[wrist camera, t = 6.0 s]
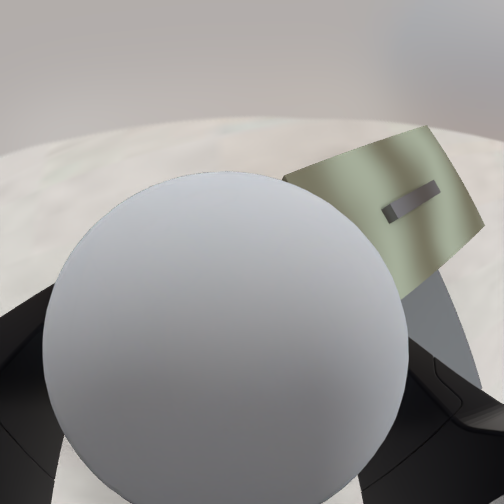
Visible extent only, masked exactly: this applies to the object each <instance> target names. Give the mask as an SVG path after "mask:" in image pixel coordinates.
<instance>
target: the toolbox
mask: <svg viewBox="0 0 504 504" xmlns="http://www.w3.org/2000/svg"><path fill="white" fill-rule="evenodd" d="M282 181H285V182H288V183H290V184H293V185H296V186H298V187H300V188H302V189H305V190H307V191H309V192H311V193H312V194H314V195H316V196H318V197H320V198H321V199H323V200H325V201H326V202H328V203H330V204H331V205H332V206H333V207H335V208H336V209H337V210H338V211H340V212H341V213H342V214H343V215H344V216H346V217H347V218H348V219H349V220H350V221H352V222H353V223H354V224H355V225H356V226H357V227H358V228H359V229H360V230H361V232H362V233H363V234H364V235H365V236H366V237H367V239H368V240H369V241H370V242H371V243H372V244H373V246H374V247H375V248H376V250H377V251H378V252H379V254H380V256H381V257H382V259H383V261H384V263H385V264H386V266H387V268H388V270H389V272H390V274H391V275H392V277H393V280H394V282H395V285H396V288H397V290H398V293H399V296H400V300H401V299H403V298H404V297H405V296H406V295H408V294H409V293H410V292H411V291H413V290H414V289H415V288H416V287H418V286H419V285H420V284H421V283H422V282H424V281H425V280H426V279H427V278H428V277H430V276H431V275H432V274H433V273H434V272H435V271H437V270H438V269H439V268H440V267H441V266H442V265H443V264H445V263H446V262H447V261H448V260H449V259H450V258H451V257H452V256H453V255H455V254H456V253H457V252H458V251H459V250H460V249H461V248H462V247H463V246H464V245H465V244H466V243H467V242H469V241H470V240H471V239H472V238H473V237H474V236H475V235H476V234H477V233H478V232H479V231H480V230H481V229H482V228H483V227H484V226H485V225H484V223H483V221H482V218H481V216H480V214H479V212H478V210H477V208H476V206H475V204H474V202H473V201H472V199H471V197H470V195H469V193H468V191H467V189H466V187H465V186H464V184H463V182H462V180H461V179H460V177H459V175H458V173H457V172H456V170H455V168H454V167H453V165H452V163H451V162H450V160H449V158H448V157H447V155H446V153H445V152H444V150H443V149H442V147H441V146H440V144H439V143H438V141H437V140H436V138H435V137H434V135H433V134H432V132H431V131H430V129H429V128H428V126H427V125H426V126H423V127H419V128H416V129H413V130H410V131H407V132H404V133H401V134H398V135H395V136H392V137H389V138H386V139H383V140H380V141H377V142H374V143H371V144H368V145H365V146H362V147H359V148H357V149H354V150H351V151H348V152H345V153H343V154H340V155H337V156H334V157H332V158H329V159H326V160H323V161H321V162H318V163H315V164H313V165H310V166H308V167H305V168H302V169H300V170H297V171H295V172H292V173H289V174H287V175H284V177H283V179H282Z"/></svg>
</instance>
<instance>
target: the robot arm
mask: <svg viewBox="0 0 504 504" xmlns="http://www.w3.org/2000/svg"><path fill="white" fill-rule="evenodd" d="M54 285H55V283H54V284H52V285H51V286H49V287H47V288H46V289H44V290H43V291H41V292H39V293H38V294H36V295H35V296H33V297H31V298H30V299H28V300H27V301H25V302H23V303H22V304H20V305H19V306H17V307H16V308H14V309H12V310H11V311H9V312H8V313H6V314H5V315H3V316H2V317H0V504H51V500H52V494H53V488H54V482H55V481H54V479H55V476H56V470H57V465H58V460H59V456H60V451H61V446H62V442H63V438H64V433H63V431H62V429H61V427H60V425H59V423H58V420H57V418H56V415H55V413H54V410H53V408H52V405H51V402H50V398H49V394H48V390H47V386H46V381H45V377H44V367H43V330H44V323H45V317H46V311H47V307H48V304H49V300H50V297H51V294H52V291H53V288H54ZM408 353H409V361H408V370H407V377H406V384H405V390H404V393H403V397H402V400H401V404H400V407H399V410H398V413H397V416H396V419H395V421H394V423H393V425H392V427H391V429H390V431H389V433H388V434H387V436H386V438H385V440H384V441H383V443H382V444H381V445H380V447H379V448H378V450H377V451H376V453H375V454H374V456H373V457H372V458H371V460H370V461H369V462H368V463H367V465H366V466H365V467H364V468H363V469H362V470H361V472H360V473H359V474H358V478H359V483H360V488H361V491H362V492H361V494H362V499H363V504H504V404H502V403H500V402H499V401H497V400H496V399H494V398H493V397H491V396H490V395H488V394H487V393H485V392H484V391H482V390H481V389H479V388H478V387H476V386H475V385H473V384H472V383H470V382H469V381H467V380H466V379H465V378H463V377H462V376H460V375H459V374H457V373H456V372H455V371H453V370H452V369H451V368H449V367H448V366H446V365H445V364H444V363H442V362H441V361H440V360H439V359H437V358H436V357H433V355H432V354H431V353H429V352H428V351H427V350H426V349H424V348H423V347H422V346H420V345H419V344H418V343H416V342H415V341H414V340H412V339H411V338H410V337H408Z"/></svg>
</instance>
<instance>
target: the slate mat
mask: <svg viewBox="0 0 504 504" xmlns="http://www.w3.org/2000/svg"><path fill="white" fill-rule="evenodd" d="M401 303H402V307H403V310H404V314H405V318H406V324H407V329H408V337H410V338H411V339H412V340H414V341H415V342H416V343H418V344H419V345H420V346H422V347H423V348H424V349H426V350H427V351H428V352H429V353H431V354H432V355H433V357H436V358H437V359H439V360H440V361H441V362H442V363H444V364H445V365H446V366H448V367H449V368H451V369H452V370H453V371H455V372H456V373H457V374H459V375H460V376H462V377H463V378H465V379H466V380H467V381H469V382H470V383H472V384H473V385H475V386H476V387H478V388H479V389H482V386H481V382H480V379H479V375H478V372H477V369H476V366H475V362H474V359H473V356H472V353H471V350H470V347H469V344H468V342H467V339H466V336H465V333H464V331H463V328H462V325H461V323H460V320H459V317H458V315H457V312H456V310H455V307H454V305H453V302H452V300H451V298H450V295H449V293H448V291H447V288H446V286H445V284H444V282H443V279H442V277H441V275H440V273H439V271H438V270H437V271H435V272H434V273H433V274H432V275H431V276H430V277H428V278H427V279H426V280H425V281H424V282H422V283H421V284H420V285H419V286H418V287H416V288H415V289H414V290H413V291H411V292H410V293H409V294H408V295H406V296H405V297H404V298H403V299H401Z"/></svg>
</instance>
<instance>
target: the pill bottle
mask: <svg viewBox="0 0 504 504" xmlns="http://www.w3.org/2000/svg"><path fill="white" fill-rule="evenodd" d="M408 361H409V353H408V329H407V324H406V318H405V314H404V310H403V307H402V303H401V300H400V296H399V293H398V290H397V288H396V285H395V282H394V280H393V277H392V275H391V274H390V272H389V270H388V268H387V266H386V264H385V263H384V261H383V259H382V257H381V256H380V254H379V252H378V251H377V250H376V248H375V247H374V246H373V244H372V243H371V242H370V241H369V240H368V239H367V237H366V236H365V235H364V234H363V233H362V232H361V230H360V229H359V228H358V227H357V226H356V225H355V224H354V223H353V222H352V221H350V220H349V219H348V218H347V217H346V216H344V215H343V214H342V213H341V212H340V211H338V210H337V209H336V208H335V207H333V206H332V205H331V204H330V203H328V202H326V201H325V200H323V199H321V198H320V197H318V196H316V195H314V194H312V193H311V192H309V191H307V190H305V189H302V188H300V187H298V186H296V185H293V184H290V183H288V182H285V181H282V180H278V179H275V178H271V177H267V176H264V175H258V174H252V173H245V172H231V171H224V172H204V173H198V174H192V175H186V176H181V177H178V178H174V179H171V180H168V181H165V182H162V183H159V184H156V185H154V186H151V187H149V188H147V189H145V190H143V191H141V192H139V193H136V194H135V195H133V196H131V197H130V198H128V199H126V200H125V201H123V202H122V203H120V204H119V205H117V206H116V207H115V208H113V209H112V210H111V211H110V212H109V213H107V214H106V215H105V216H104V217H103V218H101V219H100V220H99V221H98V222H97V223H96V224H95V225H94V226H93V227H92V228H91V229H90V230H89V231H88V232H87V233H86V234H85V235H84V237H83V238H82V239H81V240H80V242H79V243H78V244H77V246H76V247H75V248H74V250H73V251H72V253H71V254H70V256H69V257H68V259H67V261H66V262H65V264H64V266H63V268H62V270H61V272H60V274H59V276H58V278H57V280H56V282H55V285H54V288H53V291H52V294H51V297H50V300H49V304H48V307H47V311H46V317H45V323H44V330H43V367H44V377H45V381H46V386H47V390H48V394H49V398H50V402H51V405H52V408H53V410H54V413H55V415H56V418H57V420H58V423H59V425H60V427H61V429H62V431H63V433H64V435H65V436H66V438H67V440H68V441H69V443H70V444H71V446H72V447H73V449H74V450H75V452H76V453H77V454H78V456H79V457H80V458H81V460H82V461H83V462H84V463H85V464H86V466H87V467H88V468H89V469H90V470H91V471H92V472H93V473H94V474H95V475H96V476H97V477H98V478H99V479H100V480H101V481H102V482H103V483H104V484H105V485H106V486H108V487H109V488H110V489H111V490H113V491H114V492H116V493H117V494H118V495H120V496H121V497H122V498H124V499H125V500H127V501H129V502H130V503H132V504H321V503H323V502H325V501H326V500H328V499H329V498H330V497H332V496H333V495H334V494H336V493H337V492H338V491H340V490H341V489H342V488H344V487H345V486H346V485H347V484H348V483H349V482H350V481H351V480H352V479H353V478H355V477H356V476H357V475H358V474H359V473H360V472H361V470H362V469H363V468H364V467H365V466H366V465H367V463H368V462H369V461H370V460H371V458H372V457H373V456H374V454H375V453H376V451H377V450H378V448H379V447H380V445H381V444H382V443H383V441H384V440H385V438H386V436H387V434H388V433H389V431H390V429H391V427H392V425H393V423H394V421H395V419H396V416H397V413H398V410H399V407H400V404H401V400H402V397H403V393H404V390H405V384H406V377H407V370H408Z"/></svg>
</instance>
